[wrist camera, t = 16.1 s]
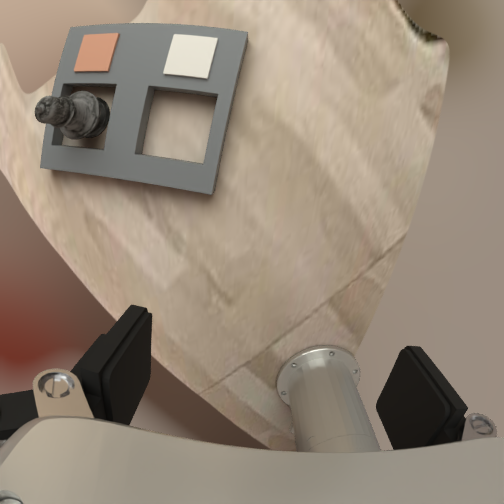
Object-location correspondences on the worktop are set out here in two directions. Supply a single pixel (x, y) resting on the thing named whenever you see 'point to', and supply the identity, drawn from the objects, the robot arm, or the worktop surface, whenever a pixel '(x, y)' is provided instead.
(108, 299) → the worktop surface
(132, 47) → the socket board
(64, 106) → the salt shaker
